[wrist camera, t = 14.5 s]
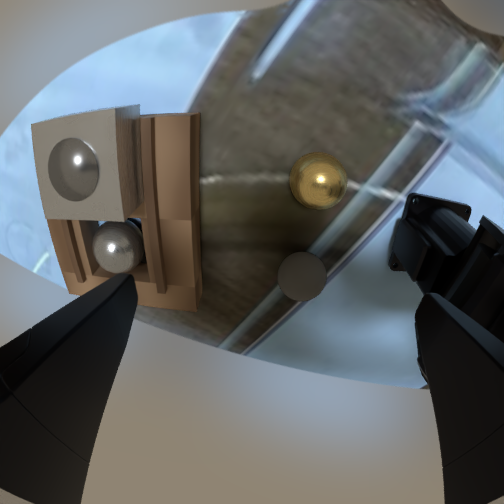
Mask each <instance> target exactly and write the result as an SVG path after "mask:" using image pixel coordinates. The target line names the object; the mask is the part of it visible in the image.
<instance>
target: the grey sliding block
mask: <svg viewBox="0 0 504 504" xmlns="http://www.w3.org/2000/svg"><path fill="white" fill-rule="evenodd" d="M31 130H32V141H33V151H34V159H35V166H36V173H37V179H38V185H39V190H40V195H41V200H42V205H43V210H44V214H45V218H46V219H66V220H94V221H118V222H125V221H126V219H127V218H128V217H129V216H130V215H131V214H132V213H133V212H134V211H135V210H136V209H137V208H138V207H139V206H140V205H141V204H142V203H143V202H144V191H143V179H142V163H141V142H140V104H138V105H128V106H119V107H111V108H104V109H97V110H91V111H85V112H79V113H74V114H69V115H64V116H59V117H55V118H52V119H48V120H44V121H41V122H37V123H34V124H31Z"/></svg>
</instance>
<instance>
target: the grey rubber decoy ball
mask: <svg viewBox="0 0 504 504" xmlns="http://www.w3.org/2000/svg"><path fill="white" fill-rule="evenodd" d="M277 278H278V284H279V286H280V289H281V290H282V292H283V293H284V294H285V295H286V296H287V297H289V298H291V299H293V300H296V301H308V300H311V299H313V298H315V297H316V296H318V295H319V294H320V293H321V292H322V290H323V288H324V286H325V284H326V279H327V274H326V269H325V266H324V264H323V263H322V261H321V260H320V259H319V258H318V257H317V256H315V255H314V254H311V253H308V252H296V253H293V254H291V255H289V256H288V257H286V258H285V259H284V260H283V262H282V263H281V265H280V267H279V270H278V276H277Z"/></svg>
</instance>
